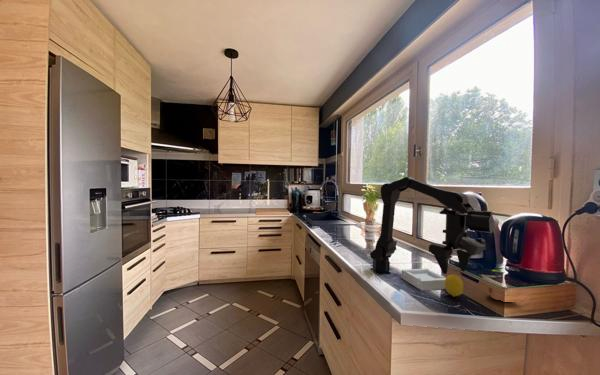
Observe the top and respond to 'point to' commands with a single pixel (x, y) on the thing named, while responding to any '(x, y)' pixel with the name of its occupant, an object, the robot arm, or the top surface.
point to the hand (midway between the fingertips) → (453, 272)
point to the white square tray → (424, 279)
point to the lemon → (454, 285)
